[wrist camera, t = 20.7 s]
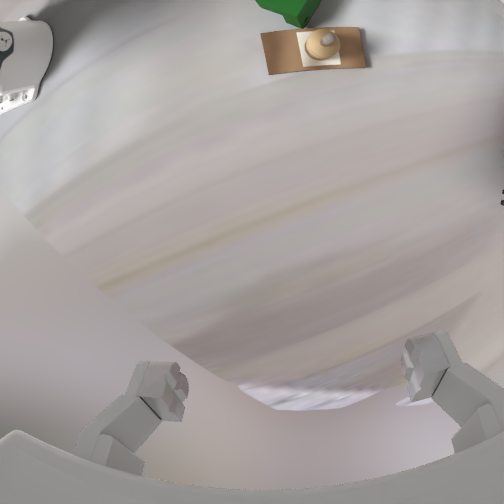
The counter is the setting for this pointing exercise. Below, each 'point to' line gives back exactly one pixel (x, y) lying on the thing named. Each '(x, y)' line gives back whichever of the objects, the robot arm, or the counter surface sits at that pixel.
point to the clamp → (292, 10)
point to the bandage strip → (296, 59)
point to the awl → (322, 44)
